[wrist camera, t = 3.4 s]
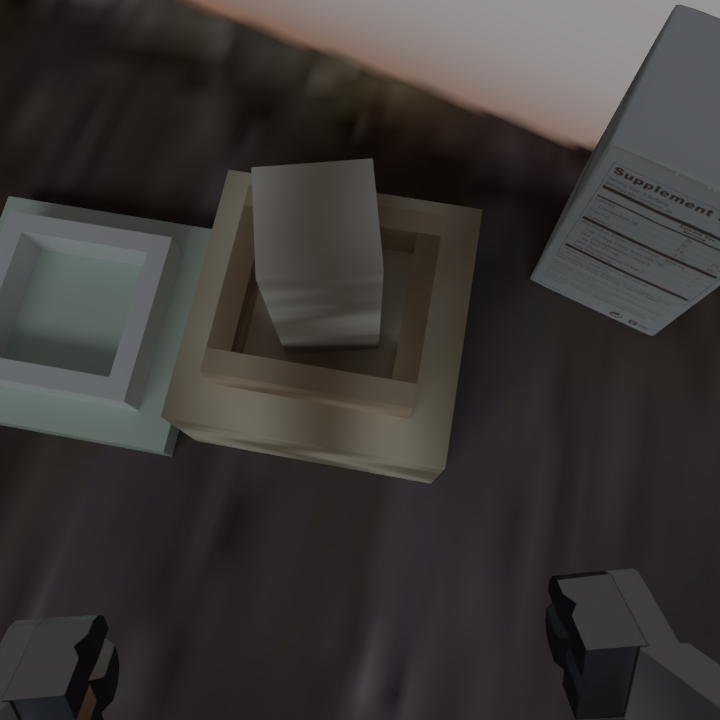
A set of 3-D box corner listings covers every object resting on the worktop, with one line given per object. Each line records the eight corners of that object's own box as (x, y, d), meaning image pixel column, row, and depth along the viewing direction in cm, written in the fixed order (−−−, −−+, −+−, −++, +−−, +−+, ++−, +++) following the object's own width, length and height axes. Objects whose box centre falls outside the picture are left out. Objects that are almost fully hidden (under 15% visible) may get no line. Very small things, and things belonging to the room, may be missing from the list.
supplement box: (576, 176, 37) (678, -7, 25) (700, 231, 36) (869, 68, 24) (523, 281, 35) (605, 139, 23) (651, 342, 34) (809, 227, 22)
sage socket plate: (-54, 414, 33) (-101, 399, 30) (22, 210, 37) (-12, 175, 33) (172, 456, 33) (150, 445, 29) (228, 243, 36) (214, 212, 33)
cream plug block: (285, 355, 28) (255, 279, 20) (281, 270, 29) (251, 167, 21) (378, 347, 28) (383, 269, 20) (370, 263, 29) (372, 158, 21)
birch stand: (196, 440, 33) (145, 406, 25) (250, 231, 36) (219, 143, 28) (430, 483, 32) (451, 461, 24) (463, 265, 35) (490, 185, 28)
